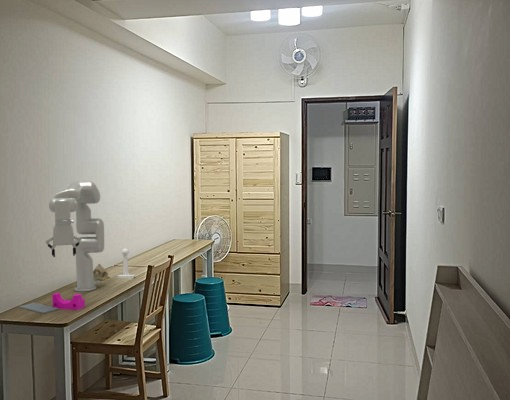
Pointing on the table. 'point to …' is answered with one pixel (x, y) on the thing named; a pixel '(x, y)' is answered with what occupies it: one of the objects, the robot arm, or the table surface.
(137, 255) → the table surface
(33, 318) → the table surface
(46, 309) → the mat
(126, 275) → the joystick
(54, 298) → the toy block
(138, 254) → the table surface
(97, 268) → the ceramic model
